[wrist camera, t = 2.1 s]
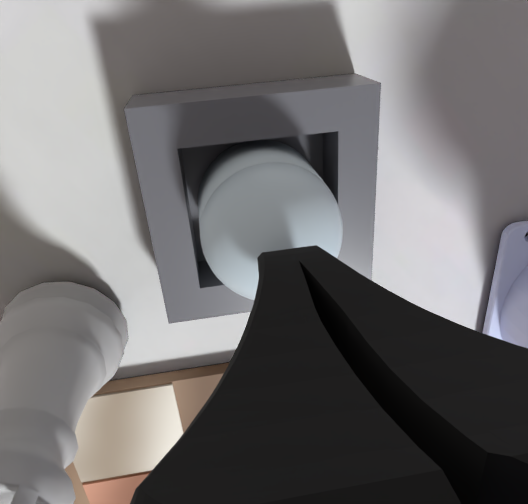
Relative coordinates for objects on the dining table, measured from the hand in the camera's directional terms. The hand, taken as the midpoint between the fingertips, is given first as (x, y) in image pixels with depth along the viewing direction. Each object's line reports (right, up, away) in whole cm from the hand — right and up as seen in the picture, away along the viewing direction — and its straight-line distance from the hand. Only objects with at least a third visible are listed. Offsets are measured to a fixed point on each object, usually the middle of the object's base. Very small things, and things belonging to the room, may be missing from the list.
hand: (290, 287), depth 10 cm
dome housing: (-1, +3, +6) cm, 6 cm away
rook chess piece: (-8, -2, +7) cm, 11 cm away
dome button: (-1, +2, +5) cm, 5 cm away
